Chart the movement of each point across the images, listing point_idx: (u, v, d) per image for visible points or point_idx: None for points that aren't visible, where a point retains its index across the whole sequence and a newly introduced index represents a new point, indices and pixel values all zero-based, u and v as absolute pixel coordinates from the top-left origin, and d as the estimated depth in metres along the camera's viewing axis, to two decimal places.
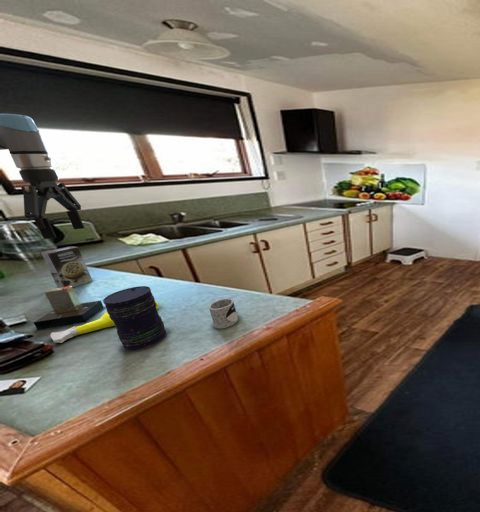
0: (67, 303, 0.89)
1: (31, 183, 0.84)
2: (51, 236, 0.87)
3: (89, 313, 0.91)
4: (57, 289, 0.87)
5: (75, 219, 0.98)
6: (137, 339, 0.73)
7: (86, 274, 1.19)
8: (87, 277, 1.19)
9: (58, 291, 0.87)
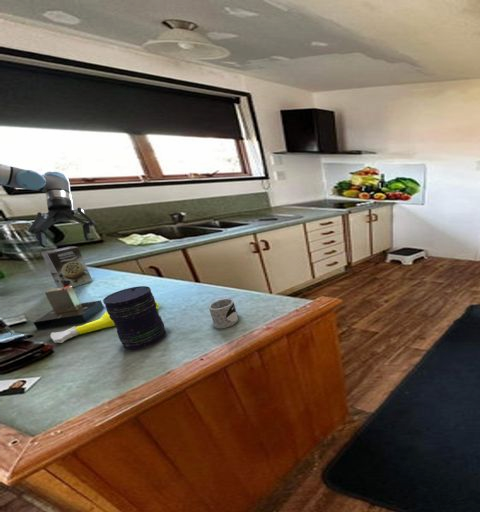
0: (67, 303, 0.89)
1: (72, 208, 1.24)
2: (88, 238, 1.23)
3: (89, 313, 0.91)
4: (57, 289, 0.87)
5: (43, 239, 1.16)
6: (137, 339, 0.73)
7: (86, 274, 1.19)
8: (87, 277, 1.19)
9: (58, 291, 0.87)
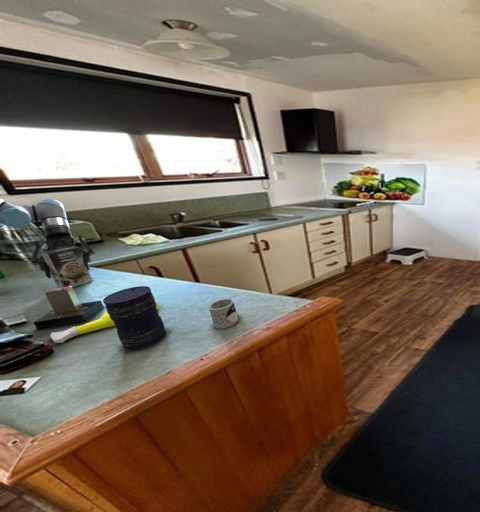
0: (67, 303, 0.89)
1: (71, 235, 1.20)
2: None
3: (89, 313, 0.91)
4: (57, 289, 0.87)
5: (48, 269, 1.12)
6: (137, 339, 0.73)
7: (86, 274, 1.19)
8: (87, 277, 1.19)
9: (58, 291, 0.87)
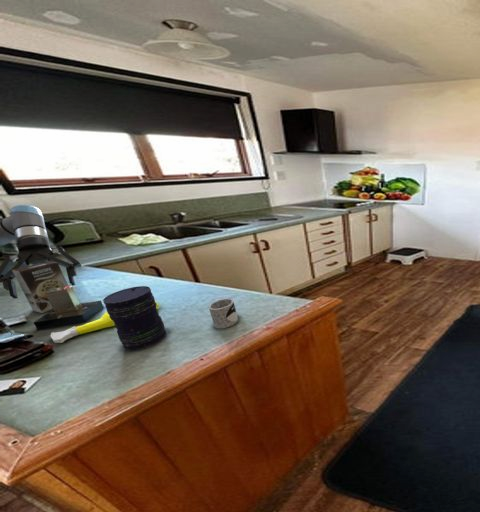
0: (67, 303, 0.89)
1: (50, 247, 1.02)
2: (74, 282, 1.01)
3: (89, 313, 0.91)
4: (57, 289, 0.87)
5: (14, 287, 0.93)
6: (137, 339, 0.73)
7: None
8: None
9: (58, 291, 0.87)
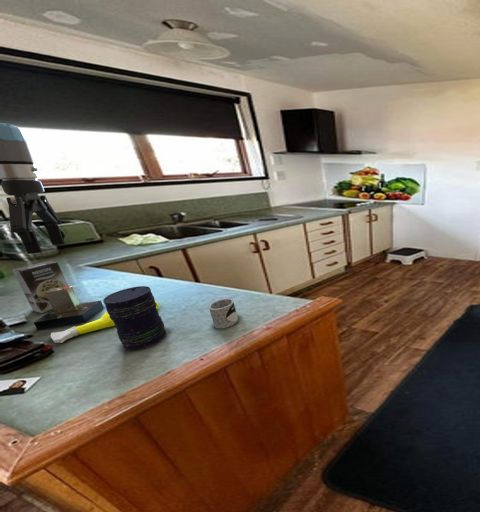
0: (67, 303, 0.89)
1: (16, 195, 0.79)
2: (36, 251, 0.81)
3: (89, 313, 0.91)
4: (57, 289, 0.87)
5: (55, 234, 0.91)
6: (137, 339, 0.73)
7: None
8: None
9: (58, 291, 0.87)
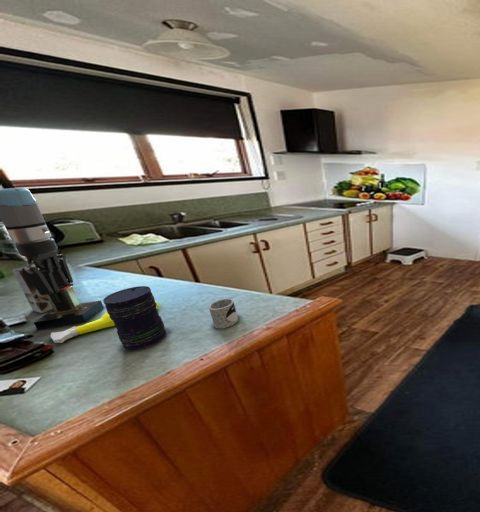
0: None
1: (28, 257, 0.80)
2: (65, 309, 0.88)
3: (89, 313, 0.91)
4: None
5: None
6: (137, 339, 0.73)
7: None
8: None
9: None
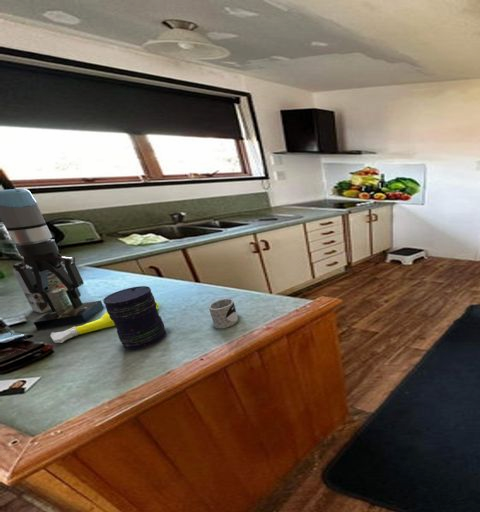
0: None
1: (55, 253, 0.84)
2: (80, 304, 0.91)
3: (89, 313, 0.91)
4: (59, 289, 0.88)
5: None
6: (137, 339, 0.73)
7: None
8: None
9: (65, 288, 0.89)
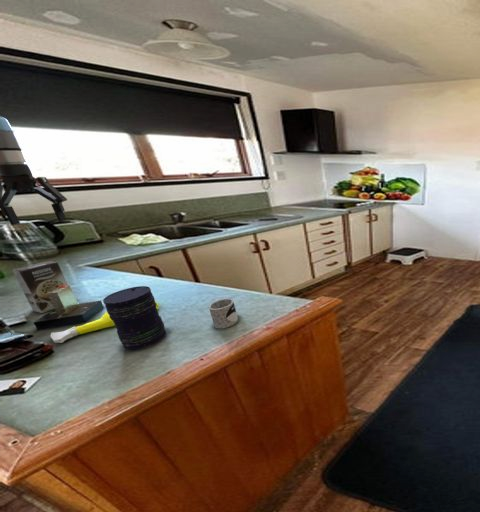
0: (72, 300, 0.91)
1: (30, 175, 0.98)
2: (64, 218, 1.06)
3: (89, 313, 0.91)
4: (59, 289, 0.88)
5: (13, 214, 1.01)
6: (137, 339, 0.73)
7: None
8: None
9: (65, 288, 0.89)
